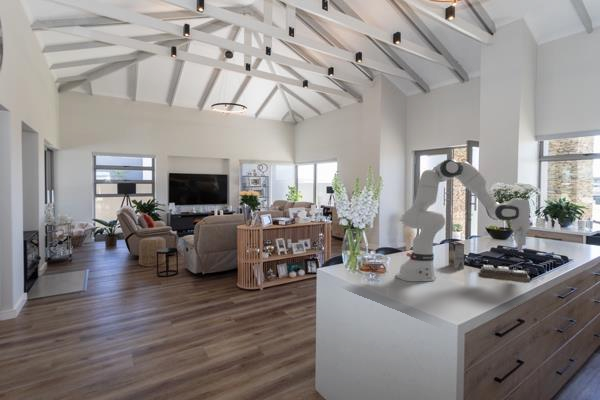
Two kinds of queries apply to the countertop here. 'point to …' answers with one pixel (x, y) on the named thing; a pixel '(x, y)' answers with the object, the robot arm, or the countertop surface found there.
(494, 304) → the countertop surface
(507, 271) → the button one
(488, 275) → the button board
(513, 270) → the button two
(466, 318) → the countertop surface
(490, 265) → the button three
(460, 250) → the coffee box
